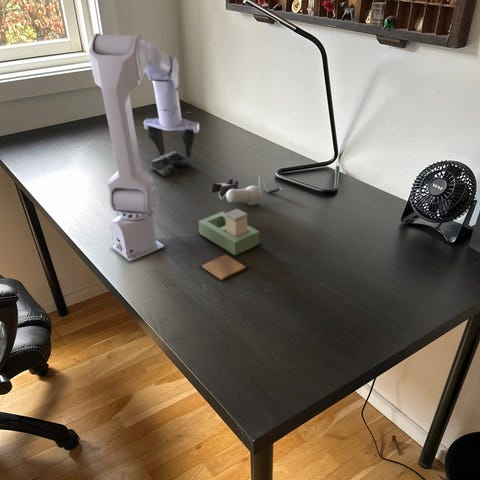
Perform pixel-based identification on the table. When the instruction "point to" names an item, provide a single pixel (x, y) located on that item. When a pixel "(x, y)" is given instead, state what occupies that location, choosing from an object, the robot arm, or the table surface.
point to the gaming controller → (168, 162)
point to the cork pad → (223, 267)
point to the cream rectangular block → (236, 222)
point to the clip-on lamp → (240, 192)
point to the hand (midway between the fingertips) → (175, 154)
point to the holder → (217, 233)
